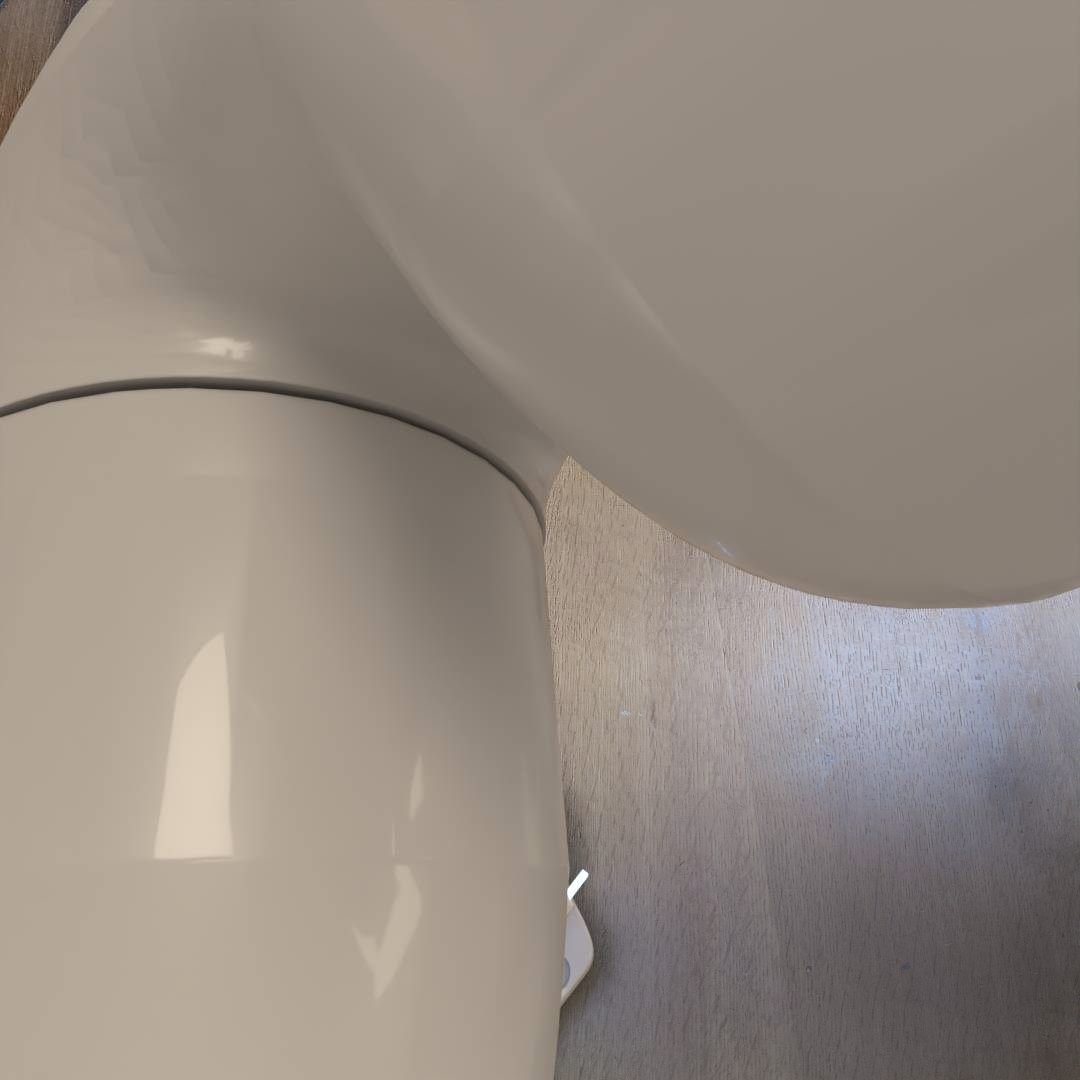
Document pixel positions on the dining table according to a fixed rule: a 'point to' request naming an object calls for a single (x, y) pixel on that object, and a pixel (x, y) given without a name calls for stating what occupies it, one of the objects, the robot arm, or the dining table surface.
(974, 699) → the dining table surface
